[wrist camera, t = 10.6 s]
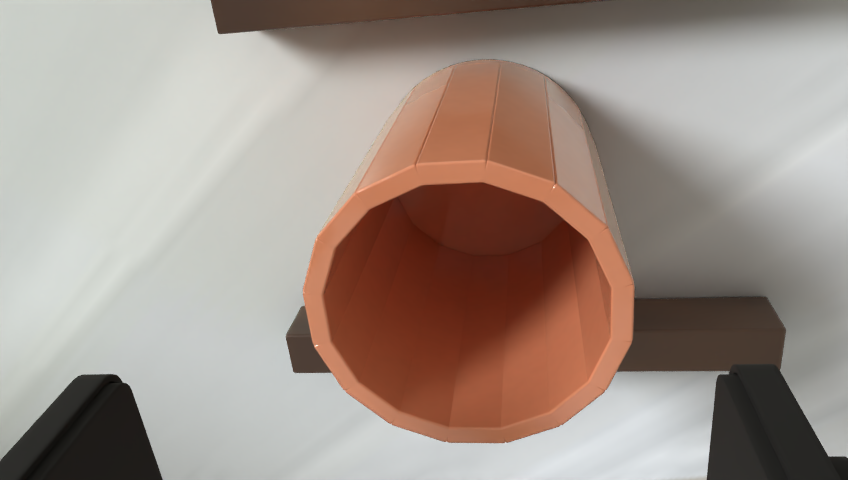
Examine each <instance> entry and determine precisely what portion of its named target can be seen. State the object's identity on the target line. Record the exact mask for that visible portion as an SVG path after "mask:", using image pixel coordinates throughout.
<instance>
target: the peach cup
mask: <svg viewBox="0 0 848 480" xmlns="http://www.w3.org/2000/svg"><path fill="white" fill-rule="evenodd" d="M634 296H635V285H634V280H633V276H632V273H631V269H630V266H629V262H628V259H627V255H626V251H625V248H624V244H623V241H622V237H621V234H620V230H619V227H618V223H617V219H616V216H615V212H614V209H613V205H612V202H611V198H610V195H609V191H608V187H607V184H606V180H605V177H604V173H603V170H602V166H601V163H600V159H599V155H598V152H597V148H596V145H595V142H594V140H593V138H592V136H591V134H590V131H589V128H588V125H587V123H586V120H585V118H584V116H583V115H582V113H581V111H580V109H579V108H578V106H577V105H576V103H575V102H574V101H573V99H572V98H571V97H570V96H569V95H568V94H567V93H566V92H565V91H564V90H563V89H562V88H561V87H560V86H559V85H558V84H556V83H555V82H554V81H553V80H551V79H550V78H548V77H547V76H545V75H543V74H542V73H540V72H538V71H536V70H534V69H531V68H529V67H526V66H524V65H521V64H517V63H513V62H509V61H502V60H473V61H466V62H462V63H458V64H455V65H451V66H449V67H446V68H444V69H442V70H439V71H437V72H435V73H434V74H432V75H430V76H429V77H427V78H425V79H424V80H423V81H422V82H420V83H419V84H418V85H417V86H415V87H414V88H413V89H412V90H411V91H410V92H409V93H408V94H407V96H406V97H405V98H404V99H403V100H402V102H401V103H400V105H399V106H398V107H397V109H396V110H395V111H394V112H393V114H392V115H391V116H390V117H389V119H388V120H387V122H386V124H385V125H384V127H383V129H382V130H381V132H380V134H379V135H378V137H377V138H376V140H375V142H374V143H373V145H372V147H371V148H370V150H369V152H368V153H367V155H366V157H365V158H364V160H363V161H362V163H361V165H360V166H359V168H358V170H357V171H356V173H355V175H354V176H353V178H352V180H351V181H350V183H349V185H348V186H347V188H346V189H345V191H344V193H343V194H342V196H341V198H340V199H339V201H338V203H337V204H336V206H335V208H334V209H333V211H332V212H331V214H330V216H329V217H328V219H327V221H326V222H325V224H324V226H323V227H322V229H321V231H320V232H319V234H318V235H317V238H316V239H315V243H314V247H313V251H312V255H311V259H310V263H309V267H308V271H307V275H306V279H305V283H304V287H303V297H304V302H305V307H306V312H307V317H308V322H309V327H310V332H311V337H312V342H313V344H314V347H315V349H316V350H317V352H318V353H319V355H320V356H321V358H322V359H323V360H324V362H325V363H326V365H327V366H328V368H329V369H330V371H331V372H332V374H333V375H334V376H335V378H336V379H337V381H338V382H339V384H340V385H341V387H342V388H343V390H345V391H346V393H348V394H349V395H351V396H352V397H353V398H355V399H356V400H357V401H359V402H360V403H362V404H363V405H364V406H366V407H367V408H369V409H370V410H371V411H373V412H374V413H376V414H377V415H378V416H380V417H381V418H382V419H384V420H385V421H387V422H388V423H390V424H391V423H392V425H394V426H397V427H400V428H403V429H406V430H409V431H412V432H415V433H418V434H422V435H425V436H428V437H431V438H434V439H437V440H440V441H443V442H446V441H447V442H449V443H505V442H506V443H508V442H511V441H514V440H518V439H521V438H524V437H527V436H530V435H533V434H537V433H540V432H543V431H546V430H549V429H553V428H556V427H559V426H560V425H563V424H564V423H565V422H567V421H568V420H569V419H571V418H572V417H573V416H574V415H576V414H577V413H578V412H580V411H581V410H582V409H583V408H585V407H586V406H587V405H589V404H590V403H591V402H592V401H594V400H595V399H596V398H598V397H599V396H600V395H602V394H603V393H604V392H605V390H607V388H608V386H609V384H610V383H611V381H612V379H613V377H614V375H615V373H616V372H617V370H618V368H619V366H620V364H621V362H622V360H623V359H624V357H625V355H626V353H627V351H628V349H629V348H630V346H631V344H632V340H633V327H634Z"/></svg>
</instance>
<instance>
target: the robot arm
mask: <svg viewBox="0 0 848 480" xmlns="http://www.w3.org/2000/svg"><path fill="white" fill-rule="evenodd" d="M0 480H163V479H162V476H161V474H160V471H159V468H158V465H157V462H156V459H155V456H154V453H153V450H152V448H151V445H150V442H149V439H148V436H147V433H146V430H145V427H144V424H143V422H142V419H141V416H140V413H139V410H138V407H137V404H136V401H135V398H134V396H133V393H132V390H131V388H130V386H129V385H128V384H126V383H123V382H122V381H121V379H120V378H119V377H118V376H117V375H113V374H99V375H81V376H78V377H77V378H75V379H74V380H73V381H72V382H71V383H70V384H69V385H68V387H67V388H66V389H65V390H64V391H63V392H62V393H61V394H60V395H59V397H58V398H57V399H56V400H55V401H54V402H53V403H52V404H51V405H50V406H49V408H48V409H47V410H46V411H45V412H44V413H43V414H42V415H41V416H40V418H39V419H38V420H37V421H36V422H35V423H34V424H33V425H32V426H31V427H30V429H29V430H28V431H27V432H26V433H25V434H24V435H23V436H22V437H21V439H20V440H19V441H18V442H17V443H16V444H15V445H14V446H13V447H12V448H11V450H10V451H9V452H8V453H7V454H6V455H5V456H4V457H3V458H2V460H1V461H0ZM707 480H848V458H846V457H828V455H827V453H826V452H825V450H824V448H823V446H822V445H821V443H820V441H819V439H818V437H817V436H816V434H815V432H814V430H813V429H812V427H811V425H810V423H809V422H808V420H807V418H806V416H805V415H804V413H803V411H802V409H801V408H800V406H799V404H798V402H797V401H796V399H795V397H794V395H793V393H792V392H791V390H790V388H789V386H788V385H787V383H786V381H785V379H784V378H783V376H782V374H781V372H780V371H779V369H778V368H777V366H776V365H774V364H734V365H732V366H731V369H730V372H729V374H728V375H718V377H717V381H716V390H715V401H714V411H713V421H712V432H711V442H710V452H709V462H708V473H707Z"/></svg>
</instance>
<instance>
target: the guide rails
mask: <svg viewBox="0 0 848 480" xmlns="http://www.w3.org/2000/svg"><path fill="white" fill-rule="evenodd" d="M597 1H609V0H211V4H212V8H213V13H214V17H215V22H216V26H217V31H218V33H219V34H228V33H239V32H251V31H262V30H274V29H286V28H297V27H309V26H320V25H332V24H343V23H355V22H366V21H378V20H389V19H401V18H413V17H424V16H436V15H447V14H459V13H470V12H482V11H493V10H505V9H516V8H528V7H540V6H551V5H563V4H574V3H586V2H597ZM785 334H786V329H785V327H784V325H783V323H782V322H781V320H780V318H779V317H778V315H777V313H776V312H775V310H774V308H773V307H772V305H771V303H770V302H769V300H768V298H767V297H725V298H675V299H634V327H633V340H632V344H631V346H630V348H629V349H628V351H627V353H626V355H625V357H624V359H623V360H622V362H621V364H620V366H619V368H618V370H617V372H622V371H730V369H731V366H732V365H734V364H774V365H776V366H777V368H778V369H779V370H780V368H781V362H782V355H783V348H784V341H785ZM286 340H287V345H288V349H289V354H290V358H291V363H292V367H293V372H294V373H332V372H331V371H330V369H329V368H328V366H327V365H326V363H325V362H324V360H323V359H322V358H321V356H320V355H319V353H318V352H317V350H316V349H315V347H314V344H313V342H312V337H311V332H310V327H309V322H308V317H307V312H306V307H305V306H302V307H301V308H300V310H299V312H298V314H297V316H296V318H295V319H294V321H293V323H292V325H291V327H290V329H289V330H288V332H287V334H286Z"/></svg>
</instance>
